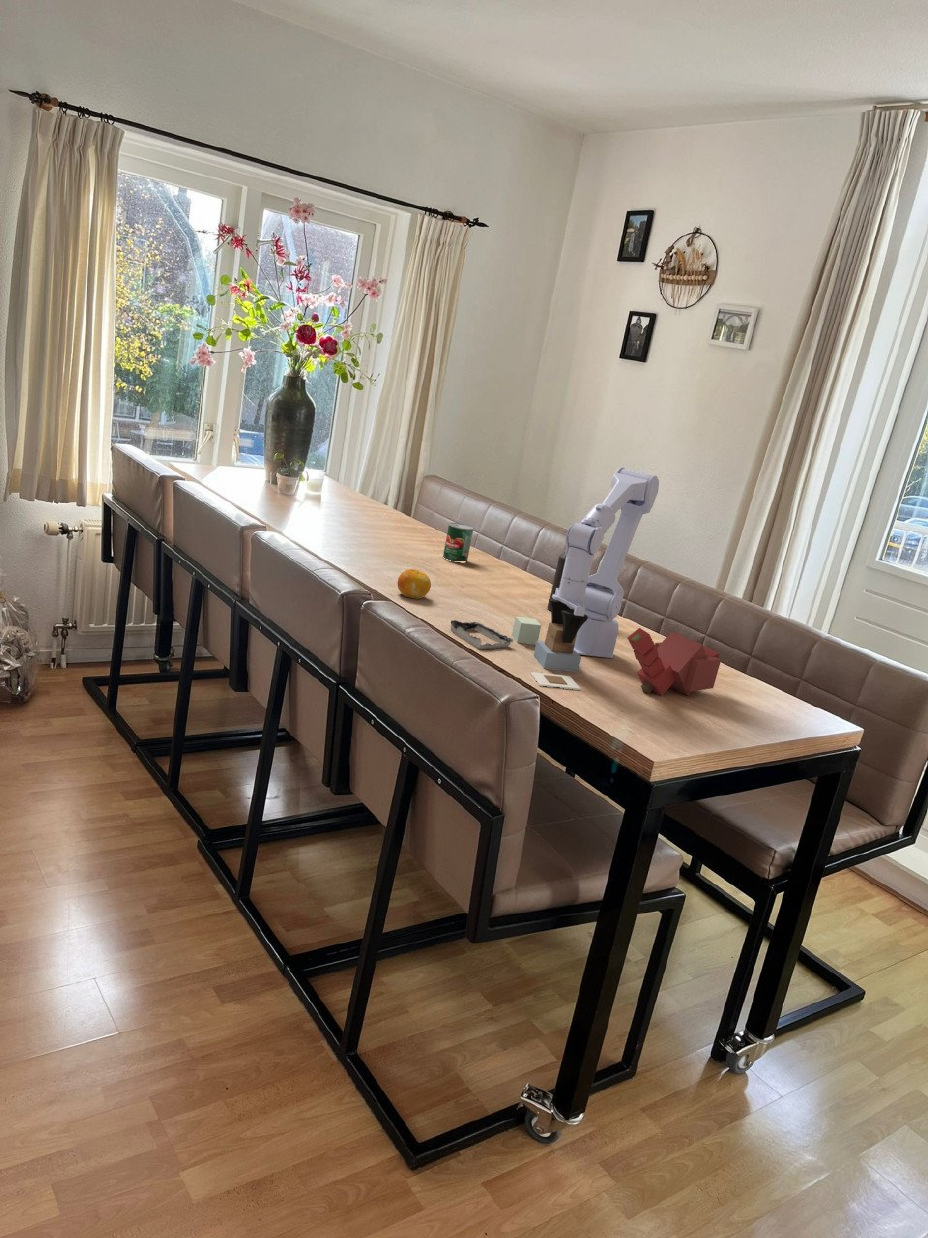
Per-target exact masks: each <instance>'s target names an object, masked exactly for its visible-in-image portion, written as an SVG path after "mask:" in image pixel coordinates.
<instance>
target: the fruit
mask: <svg viewBox="0 0 928 1238" xmlns="http://www.w3.org/2000/svg"><path fill="white" fill-rule="evenodd" d="M397 588H398V591H399V592H400V593H401V594H402V595H403V596H404V597H406V598H410V599H422V598H424V597H426V595H428V594H429V592H430V591H431V588H432V582H431V579H430V577H429V576H428V575H427V574H426V573H425V572H423V571H421V570H418V569H414V568H408V569H405V570H404V571H403V572H401V573H400V575H399V577H398V580H397Z"/></svg>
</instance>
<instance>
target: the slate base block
mask: <svg viewBox="0 0 928 1238" xmlns="http://www.w3.org/2000/svg"><path fill="white" fill-rule="evenodd" d="M534 646H535V647H534V652H533V657H534V659H536V661H537V662H538V664H539V665H540V666H541V667H542V668H543V669H546V670H554V671H563V672H571V673H574V672H575V673H578V672H579V668H580V662H581V660H582V659H581V658H582V656H581V655H579V654H578V653H577V652H576V651H575V650H573V654H571V653H562V652H553V651H551V650H550V649H549V648H548V647H547V646H546V645H545V641H543V640H538V641H537V642H536V645H534Z"/></svg>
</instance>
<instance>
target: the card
mask: <svg viewBox="0 0 928 1238" xmlns="http://www.w3.org/2000/svg"><path fill="white" fill-rule="evenodd" d="M530 675H531V676H532V678H533V679H534V678H535V679H534V681H535V680H536V681H537V682H536V681H535V682H536V683H537V685H538V686H539V685H540V686H539V687H543V686H547V687H546V688H553V687H560V688H559V689H563V688H564V689H565V690H572V689H573V690H574V691H581V687H580V686H579V685H578V684H577V683H576V682H575V680H574V679H573V678H572V677H571V676H570V675H564V674H563V675H562V674H552V673H542V672H534V671H532V672H530Z"/></svg>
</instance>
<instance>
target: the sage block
mask: <svg viewBox="0 0 928 1238" xmlns="http://www.w3.org/2000/svg"><path fill="white" fill-rule="evenodd" d="M541 628H542V625H541V623H540V622H539V621H538V620H537V619H536V618H532V617H523V616H515V617H514V622H513V627H512V632H511V637H512V639H513V640H515V642H516V643H518V644H526V645H534V646H536V642H537V641H539V637H540V633H541V630H542V629H541Z"/></svg>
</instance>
